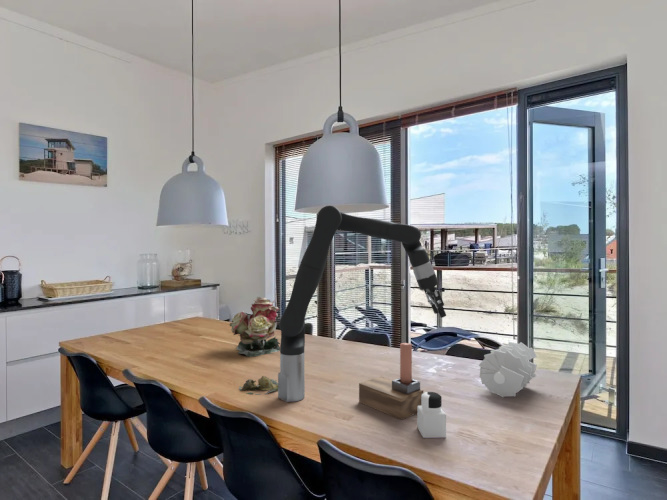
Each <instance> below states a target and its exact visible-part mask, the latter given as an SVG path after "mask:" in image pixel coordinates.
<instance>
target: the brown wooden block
mask: <svg viewBox="0 0 667 500" xmlns="http://www.w3.org/2000/svg"><path fill="white" fill-rule="evenodd" d="M423 393H424V389H421V381H420V380H416V379H414V378H412V383H410V384H404V383H401V382H400V377H399V378H396V379H390V378H387V377H384V376H378V377H375V378H372V379H369V380H365V381H361V382H360V383H358V395H359V396H358V401H359V402H358V403H361V404H363V405H365V406H367V407H369V408H372V409H375V410H377V411H378V412H379V411H380V412H381V413H384V414H386V415H388V416H391V417H393V418H395V419H398V420H400V421H402V420H404V419H406V418H409V417H411V416H414V415H416V414H417V406H421V395H422V394H423ZM413 414H414V415H413Z"/></svg>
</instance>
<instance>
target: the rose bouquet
mask: <svg viewBox="0 0 667 500" xmlns="http://www.w3.org/2000/svg"><path fill="white" fill-rule="evenodd" d="M253 301H254V303H251V306H250V310H251V313H252V314H247V313H246V312H245V311H244V310H241V311H240V312H237V313H236V314H235V315H234V317H233V318H231V322H229V327H231V328H230V331H231V332H232V333H233V336H237V337H240V338H239V339H240V341H239V343H238V345H237V346H236V347H235V350H237V351H238V352H237V353H238V355H239V354H240V355H241V354H242V355H245V356H246V357H248V358H252V357H253V358H254V357H258V356H259V357H260V356H263V355H268V354H270V355H271V354H274V353H277V352H280V344H281V342H279V339H278V338H276V335H275V331H276V328H277V325H278V321H277V320H280V319H281V317H282V316H279V313H277V312H278V311H280V310H281V309H280V308H279V307H278V306H275V305H274V303H275V300H273V301H271V300H270V299H268V298H267V297H261V296H257V297H255V298H253ZM248 349H251V351H250V350H248Z"/></svg>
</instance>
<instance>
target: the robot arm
mask: <svg viewBox="0 0 667 500" xmlns="http://www.w3.org/2000/svg"><path fill="white" fill-rule="evenodd" d="M337 231H340V232H341V231H342V232H343V231H344V232H351V233H356V234H360V235H363V236H368V237H371V238H376V239H381V240H387V241H396V242H399V243H401V244H402V247H403V250H405V252H406V254H407V256H408V259H409V263H410V265H411V267H412V271H413V272H412V273H413V274H414V276H415V277H414V278H415V281H416V283H417V285H418V288H419V290H420V291H424V294H425V296H426V299H427V302H428V304H429V305H430V306H431V309H432V311H433V313H434V314H435V315H436V314H438V315H439V317H440V318H442V319H443V318H445V317H446V316H447V314H446V311H445V308H444V306H445V303H444V301H443V299H442V298H443V297H442V296H441V293H440V290H439V289H436V286H438V285H439V279H438V277H437V275H436V272H435V270H434V267H433V264H432V263H431V261H430V260H431V259H430V258H429V256H428V253H427V250H426V249H425V248H424V247H423V246H422V242H421V238H422V237H421V236H422V232H421V230H420V228H419V227H417V226H414V225H413V224H412V225H409V224H405V223H397V222H392V221H389V220H388V221H387V220H384V219H378V218H373V217H364V216H363V217H362V216H355V215H351V214H347V213H345V212H341V211H340V210H339V208H337V207H336V206H334V205H325V206H323V207H322V208H321V209H319V211H318V213H317V215H316V221H315V225H314V230H313V233H312V236H311V239H310V241H309V244H308V245H307V248H306V249H305V252H304V254H303V256H302V258H301V261H300V264H299V266H298V270H297V273H296V276H295V278H294V282H293V287H292V290H291V294H290V298H289V300H288V303H287V305H286V308H285V309H284V311H283V314H282V315H281V316H280V317H281V318H280V319H279V324H278V326H279V329H280V331H281V332H280V335H281V336H280V344H279V347H280V351H279V352H280V353H279V354H280V355H279V359H280V360H279V361H280V362H279V366H280V367H279V372H278V374H277V383H278V390H277V397H278V399H280V400H282V401H284V402H285V403H290V402H299V401H302V400H303V399H305V392H306V391H305V389H306V388H305V381H306V380H305V345H306V320H305V319H306V315H307V312H308V308H309V305H310V302H311V301H312V299H313V296H314V295H315V292H316V291H317V289H318V286H319V284H320V281H321V279H322V276H323V273H324V270H325V268H326V263H327V261H328V257H329V256H328V255H329V251H330V247H331V243H332V241H333V238H334V237H335V234H336V232H337Z"/></svg>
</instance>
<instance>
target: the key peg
mask: <svg viewBox="0 0 667 500" xmlns="http://www.w3.org/2000/svg"><path fill="white" fill-rule="evenodd" d="M412 350H413V347H412V343H410V342H402V343H400V346H399V352H400V353H399V355H400V358H399V362H400V363H399V374H400V375H399V378H400V382H401V383H404V384H410V383H412V379H413V375H412V371H413V366H412V365H413V359H412V358H413V353H412V352H413V351H412Z"/></svg>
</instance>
